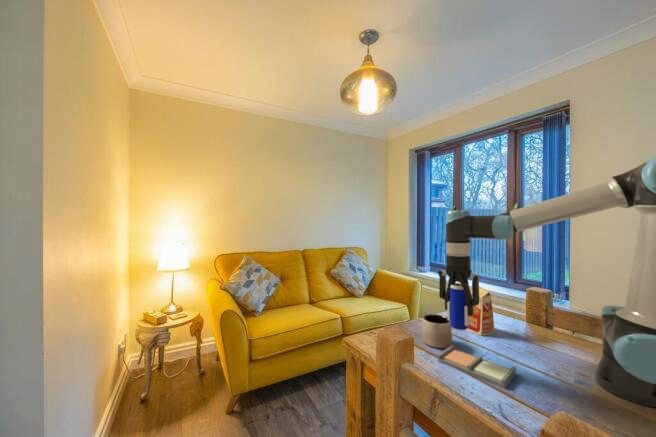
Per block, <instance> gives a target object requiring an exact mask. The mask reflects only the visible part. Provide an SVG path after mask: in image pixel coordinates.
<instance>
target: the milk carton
mask: <svg viewBox="0 0 656 437" xmlns="http://www.w3.org/2000/svg"><path fill="white" fill-rule="evenodd" d="M470 292H471V295H472V289H470ZM493 311H494V308H493V303H492V295H491V290H489V289H486V288H483V287H482V286H480V285H479V304H478V305H476V306H473V315H472V316H470V324H469V325H468V326H467V329H466V330H465V331H468V332H471V333H472V334H473V333H474V334H476V335H479V336H487V335H492V334H493V333H494V332H495V320H494V312H493Z"/></svg>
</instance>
